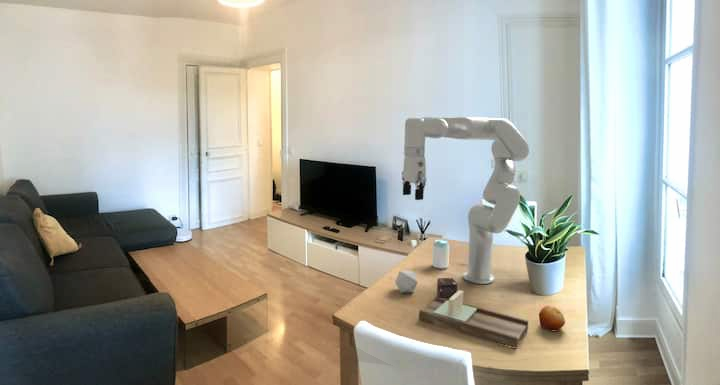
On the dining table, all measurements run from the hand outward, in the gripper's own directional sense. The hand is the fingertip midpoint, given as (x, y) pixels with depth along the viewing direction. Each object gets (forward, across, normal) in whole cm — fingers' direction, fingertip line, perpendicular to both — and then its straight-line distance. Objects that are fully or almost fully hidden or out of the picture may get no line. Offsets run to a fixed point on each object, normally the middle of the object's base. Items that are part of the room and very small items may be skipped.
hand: (412, 197), depth 168 cm
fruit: (+37, -44, -29) cm, 64 cm away
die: (+38, -1, +2) cm, 38 cm away
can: (+37, +18, -25) cm, 49 cm away
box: (+38, -13, -9) cm, 41 cm away
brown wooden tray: (+37, -33, -6) cm, 50 cm away
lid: (+34, -28, -3) cm, 44 cm away
